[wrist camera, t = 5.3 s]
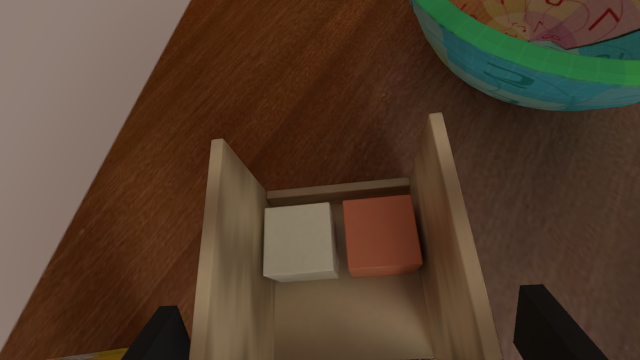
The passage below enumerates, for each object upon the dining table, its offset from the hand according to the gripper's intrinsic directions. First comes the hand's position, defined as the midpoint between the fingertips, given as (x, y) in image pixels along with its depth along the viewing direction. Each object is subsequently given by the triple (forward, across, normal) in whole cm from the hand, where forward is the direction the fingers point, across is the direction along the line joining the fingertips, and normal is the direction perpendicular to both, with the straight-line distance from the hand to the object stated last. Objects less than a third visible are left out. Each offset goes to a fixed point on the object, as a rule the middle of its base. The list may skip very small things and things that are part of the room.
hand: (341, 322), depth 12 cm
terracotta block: (+9, +2, -3) cm, 10 cm away
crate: (+8, 0, -4) cm, 9 cm away
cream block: (+9, -3, -3) cm, 10 cm away
